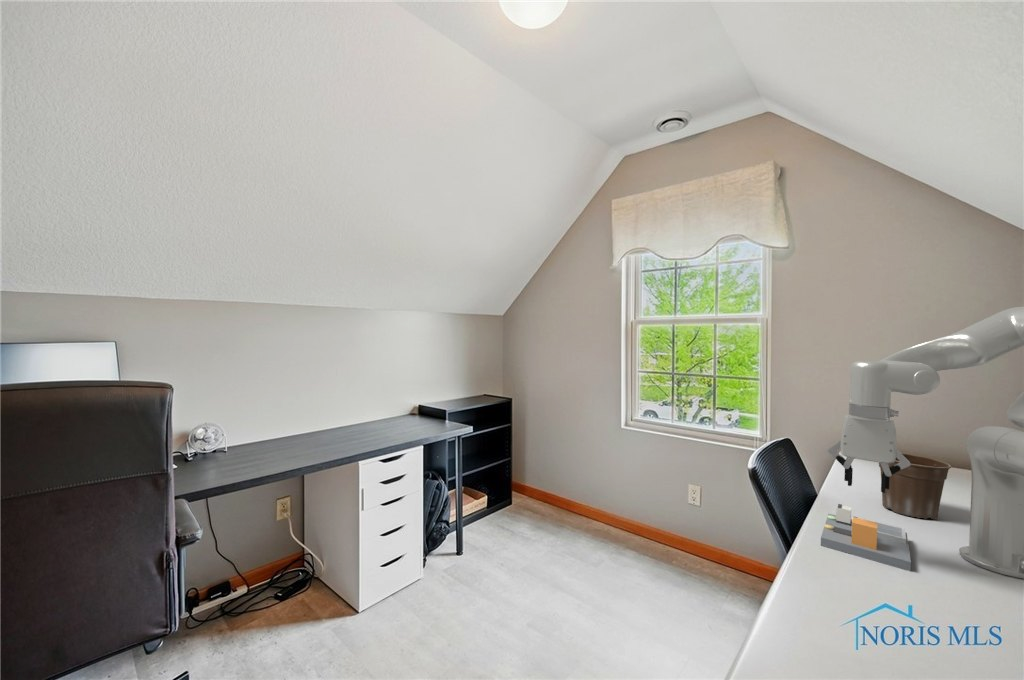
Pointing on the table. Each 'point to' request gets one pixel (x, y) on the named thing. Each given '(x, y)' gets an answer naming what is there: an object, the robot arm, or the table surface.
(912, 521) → the table surface
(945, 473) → the plant pot
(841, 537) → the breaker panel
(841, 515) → the toggle
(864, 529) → the cap
